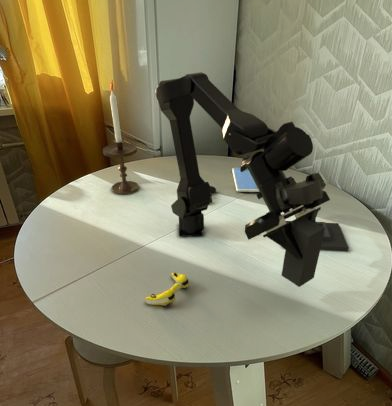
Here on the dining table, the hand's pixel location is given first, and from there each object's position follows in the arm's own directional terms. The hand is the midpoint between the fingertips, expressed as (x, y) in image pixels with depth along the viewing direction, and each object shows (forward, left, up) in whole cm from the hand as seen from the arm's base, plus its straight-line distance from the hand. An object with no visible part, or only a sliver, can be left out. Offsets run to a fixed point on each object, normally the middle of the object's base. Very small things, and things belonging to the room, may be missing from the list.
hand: (308, 253), depth 67 cm
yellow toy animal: (-27, +5, -14) cm, 31 cm away
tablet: (0, +62, -13) cm, 64 cm away
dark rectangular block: (-1, +1, -7) cm, 7 cm away
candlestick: (-44, +59, -14) cm, 75 cm away
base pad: (+11, +26, -13) cm, 31 cm away
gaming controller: (-17, +51, -14) cm, 55 cm away
